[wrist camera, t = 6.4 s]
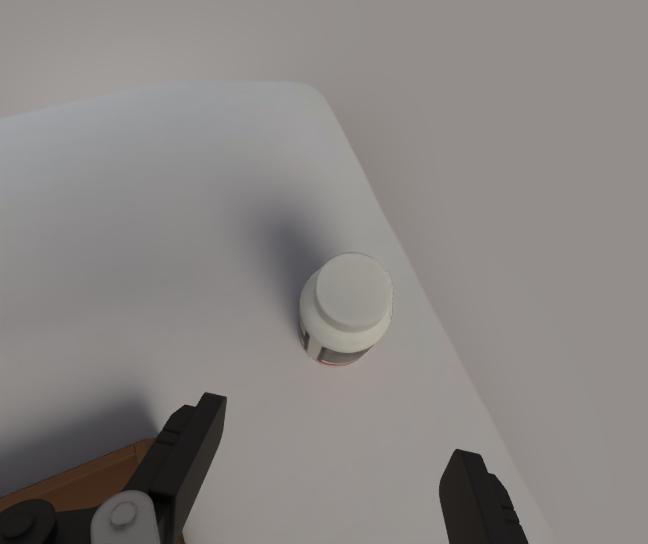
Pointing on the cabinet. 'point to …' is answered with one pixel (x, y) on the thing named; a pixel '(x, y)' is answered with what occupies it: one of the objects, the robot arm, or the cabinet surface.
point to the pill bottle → (345, 309)
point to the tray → (87, 481)
